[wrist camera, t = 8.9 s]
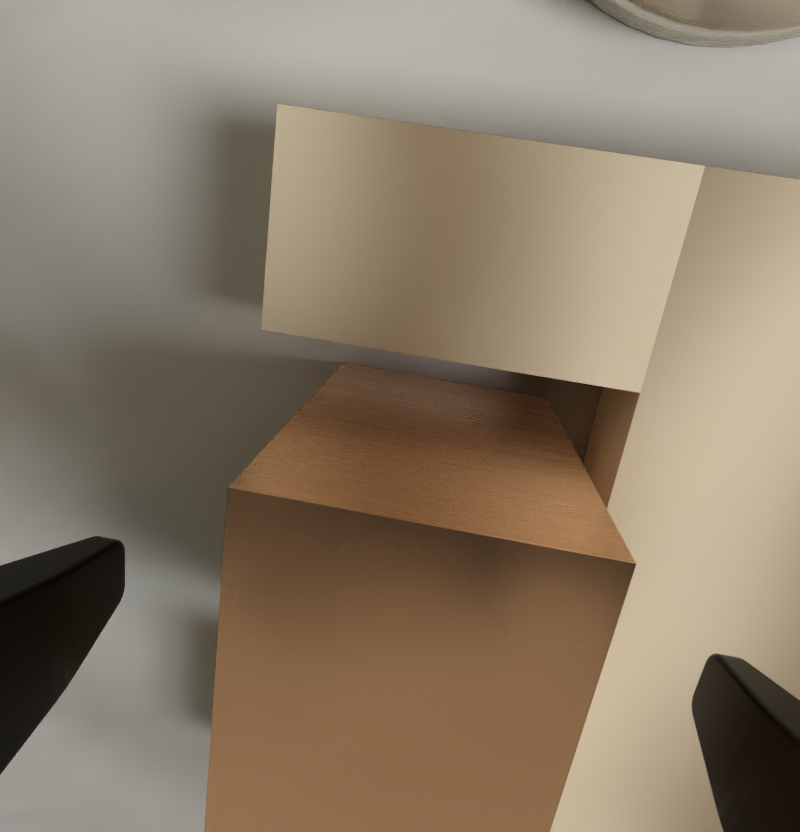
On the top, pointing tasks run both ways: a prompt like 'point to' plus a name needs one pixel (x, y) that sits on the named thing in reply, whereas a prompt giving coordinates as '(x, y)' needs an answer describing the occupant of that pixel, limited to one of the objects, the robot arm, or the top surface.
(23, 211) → the top surface
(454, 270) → the notched board
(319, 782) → the wooden block
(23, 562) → the robot arm
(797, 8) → the bobbin
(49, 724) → the top surface
